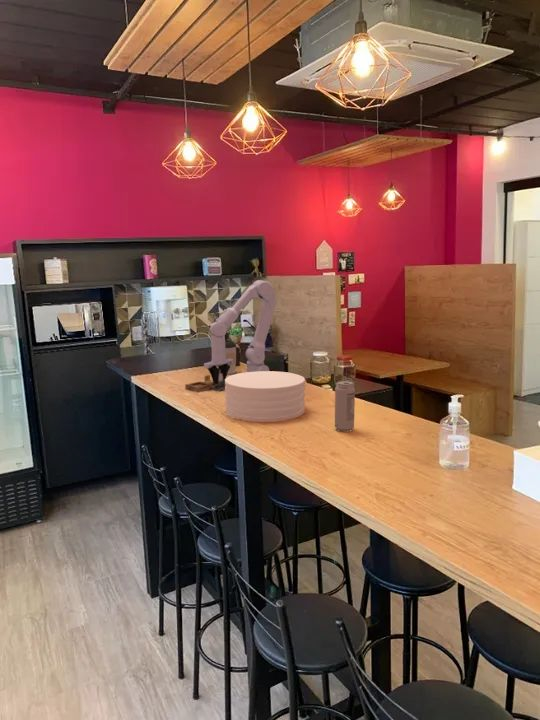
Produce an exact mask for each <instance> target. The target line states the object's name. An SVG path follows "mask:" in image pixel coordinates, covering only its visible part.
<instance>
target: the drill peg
mask: <svg viewBox="0 0 540 720" xmlns="http://www.w3.org/2000/svg"><path fill="white" fill-rule="evenodd" d="M215 386H217V387H221V386H224V385H223V372H221V369H220V370H219V375H218V384H215Z"/></svg>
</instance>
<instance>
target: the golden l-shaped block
mask: <svg viewBox="0 0 540 720" xmlns="http://www.w3.org/2000/svg"><path fill="white" fill-rule="evenodd" d="M203 379H204V381H203V382H206V383H210V384H213V386H215V384H214V383H213V379H211V374H210V375H209V374H208V375H204V377H203Z"/></svg>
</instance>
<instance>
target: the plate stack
mask: <svg viewBox="0 0 540 720" xmlns="http://www.w3.org/2000/svg"><path fill="white" fill-rule="evenodd" d="M305 384H306V379H305V377H304V376H302V375H301V374H297V373H293V372H286V371H277V370H276V371H275V370H274V371H273V370H272V371H271V370H269V371H256V372H247V371H245V372H239V373H234V374H230V375H229V376H226V379H225V385H226V386H225V385H224V386H225V390H224V392H225V394H224V395H225V396H224V398H225V403H224V404H225V414H226V413H227V414H228V416H229V417H231V418H233V417H234V418H233V419H236V418H237V420H240V419H242V420H241V421H246V420H247V421H248V422H260V423H261V422H262V423H263V422H264V423H265V422H268V423H269V422H281V421H287V420H291V419H295V418H298V417H300V416H302V415H304V413H305V412H304V411H305V401H306V400H305V398H306V395H305V394H306V393H305V391H306V388H305V387H306V386H305ZM227 414H226V415H227Z"/></svg>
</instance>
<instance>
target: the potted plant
mask: <svg viewBox="0 0 540 720" xmlns="http://www.w3.org/2000/svg"><path fill="white" fill-rule="evenodd" d="M225 340H228V341H232V339H231V338H230V333H229V332H227V331H226V334H225ZM240 363H241V347H239V346H236V367H240V366H241V364H240Z"/></svg>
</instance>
